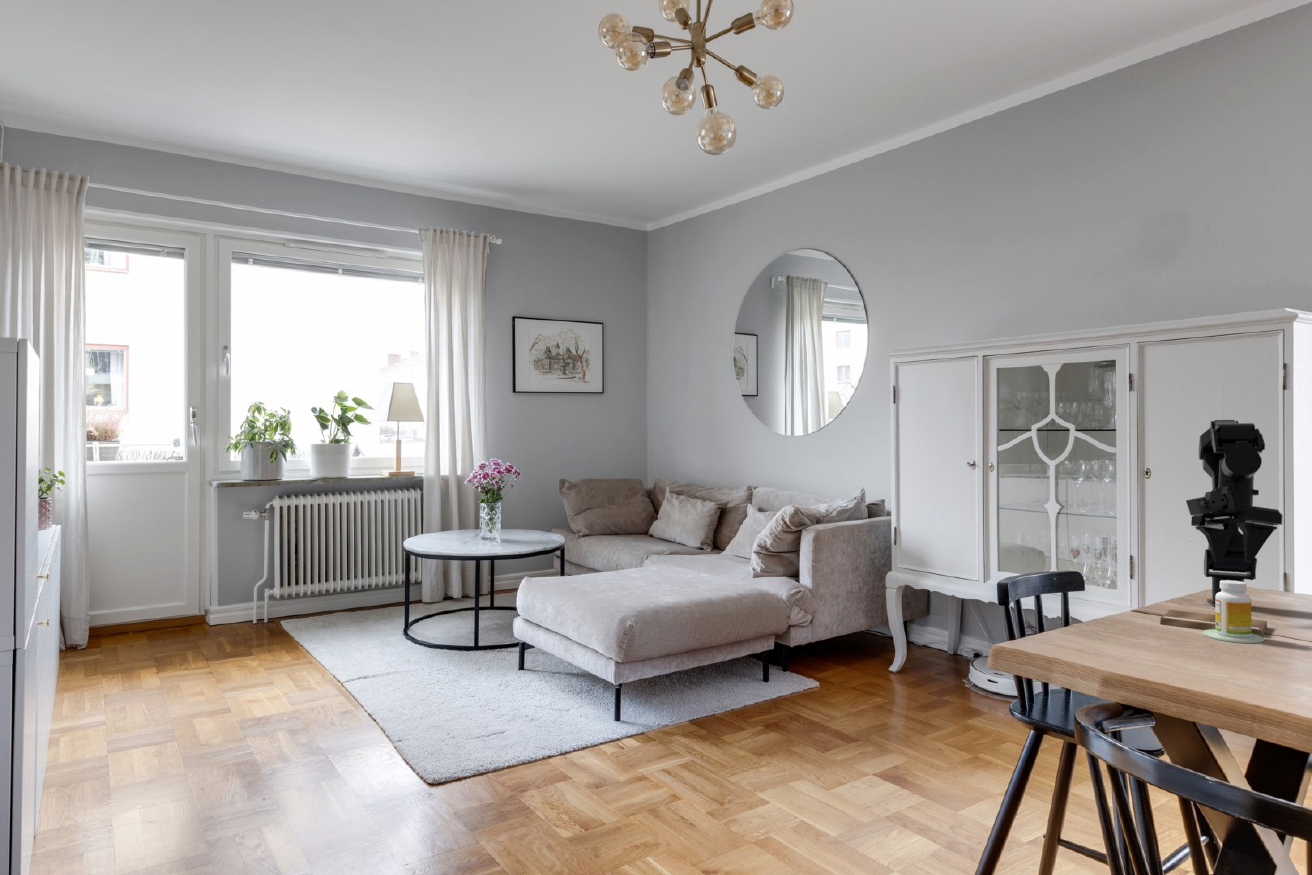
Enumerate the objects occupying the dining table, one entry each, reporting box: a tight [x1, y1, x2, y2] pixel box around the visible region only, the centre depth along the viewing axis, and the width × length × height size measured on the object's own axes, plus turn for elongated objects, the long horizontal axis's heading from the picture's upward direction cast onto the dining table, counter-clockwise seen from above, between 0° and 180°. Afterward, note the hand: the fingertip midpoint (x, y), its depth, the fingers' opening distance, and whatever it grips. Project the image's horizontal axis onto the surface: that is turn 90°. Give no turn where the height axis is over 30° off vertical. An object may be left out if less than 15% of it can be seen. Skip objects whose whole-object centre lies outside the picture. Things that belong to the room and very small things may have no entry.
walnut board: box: [1159, 609, 1268, 637], centre depth 156 cm, size 16×10×1 cm, turn 48°
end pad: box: [1203, 629, 1265, 644], centre depth 147 cm, size 9×9×1 cm
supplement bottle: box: [1214, 580, 1252, 638], centre depth 147 cm, size 5×5×10 cm
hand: (1232, 561), depth 158 cm, fingers open, 9 cm apart
